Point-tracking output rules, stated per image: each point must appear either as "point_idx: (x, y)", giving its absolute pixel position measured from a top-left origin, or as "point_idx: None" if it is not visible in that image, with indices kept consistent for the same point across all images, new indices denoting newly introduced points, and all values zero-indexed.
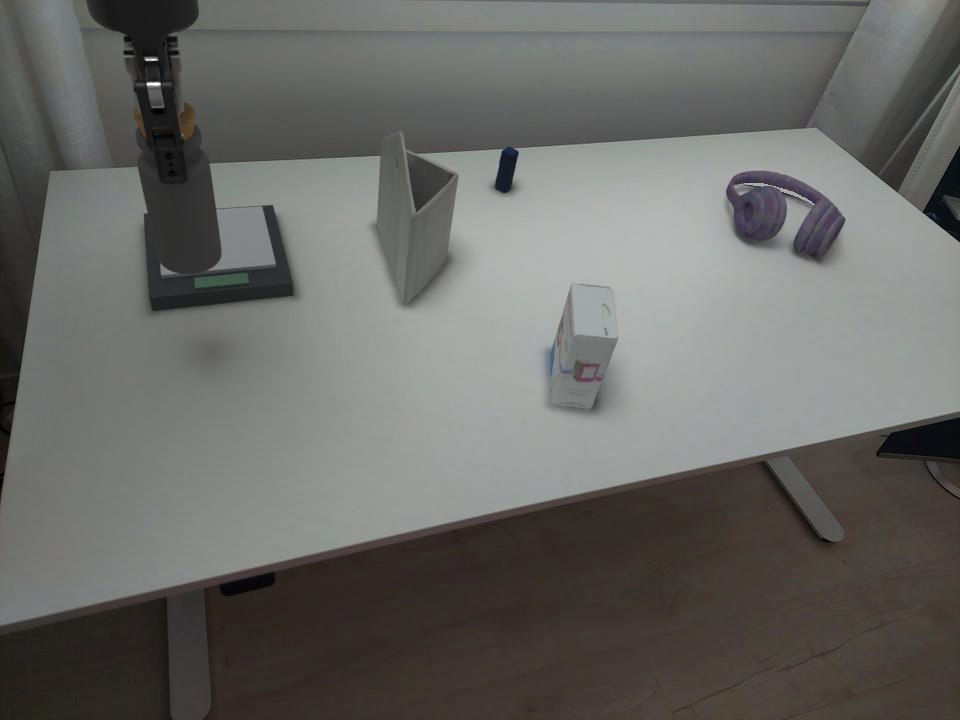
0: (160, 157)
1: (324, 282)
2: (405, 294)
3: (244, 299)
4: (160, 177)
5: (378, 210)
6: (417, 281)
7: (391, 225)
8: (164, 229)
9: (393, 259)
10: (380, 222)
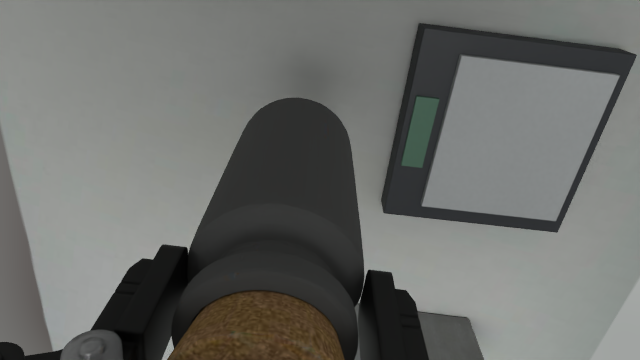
0: (100, 316)
1: (392, 239)
2: None
3: (393, 146)
4: (160, 253)
5: (470, 341)
6: None
7: None
8: (234, 155)
9: None
10: (454, 333)
